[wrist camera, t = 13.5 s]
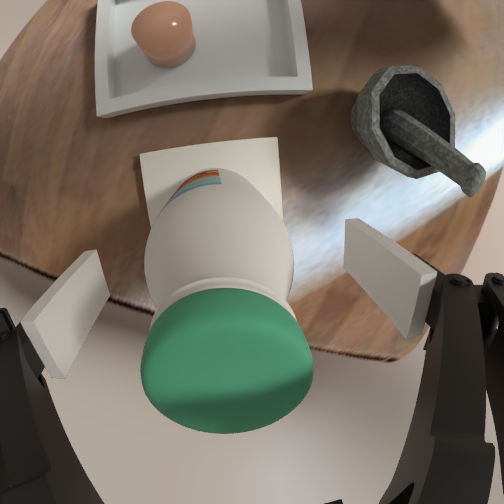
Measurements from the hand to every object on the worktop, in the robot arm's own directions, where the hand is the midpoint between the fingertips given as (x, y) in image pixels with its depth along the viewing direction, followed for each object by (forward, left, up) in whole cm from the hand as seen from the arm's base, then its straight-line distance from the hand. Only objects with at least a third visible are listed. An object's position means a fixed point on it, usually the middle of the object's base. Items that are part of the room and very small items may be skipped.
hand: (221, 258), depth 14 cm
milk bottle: (0, 0, -12) cm, 12 cm away
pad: (0, 0, -12) cm, 12 cm away
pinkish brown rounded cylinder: (+3, -15, -12) cm, 19 cm away
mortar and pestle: (-17, -7, -13) cm, 22 cm away
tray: (0, -17, -12) cm, 21 cm away
